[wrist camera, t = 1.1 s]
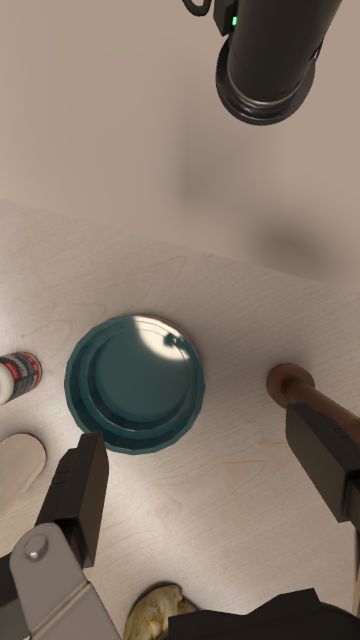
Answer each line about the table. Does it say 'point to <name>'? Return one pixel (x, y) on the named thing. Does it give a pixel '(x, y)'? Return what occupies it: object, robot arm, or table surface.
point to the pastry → (155, 613)
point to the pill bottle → (17, 375)
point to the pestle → (308, 396)
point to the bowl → (135, 383)
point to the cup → (18, 467)
